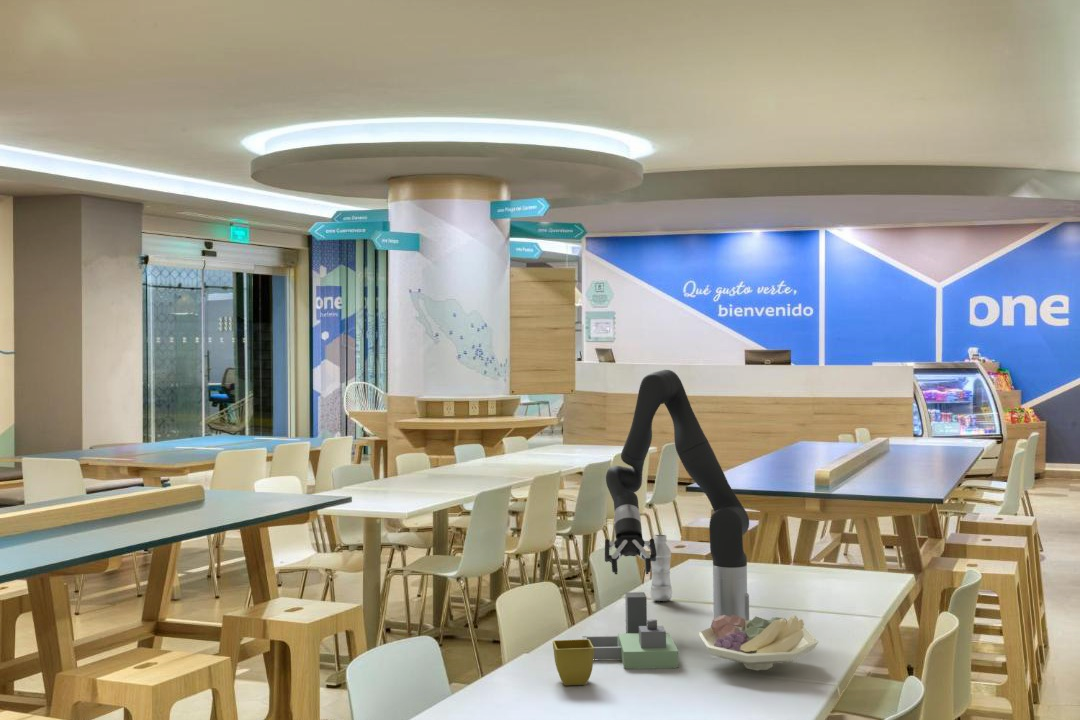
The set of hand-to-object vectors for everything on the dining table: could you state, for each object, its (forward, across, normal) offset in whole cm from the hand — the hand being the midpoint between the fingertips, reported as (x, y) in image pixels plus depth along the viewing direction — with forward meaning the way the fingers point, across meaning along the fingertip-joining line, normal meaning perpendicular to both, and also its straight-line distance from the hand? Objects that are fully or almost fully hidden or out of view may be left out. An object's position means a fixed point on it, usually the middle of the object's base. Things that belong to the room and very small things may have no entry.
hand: (631, 572), depth 308 cm
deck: (+31, -3, -9) cm, 32 cm away
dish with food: (+38, +27, -16) cm, 49 cm away
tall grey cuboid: (+19, 0, +3) cm, 19 cm away
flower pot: (+46, -18, -23) cm, 55 cm away
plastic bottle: (-14, +12, +37) cm, 41 cm away
